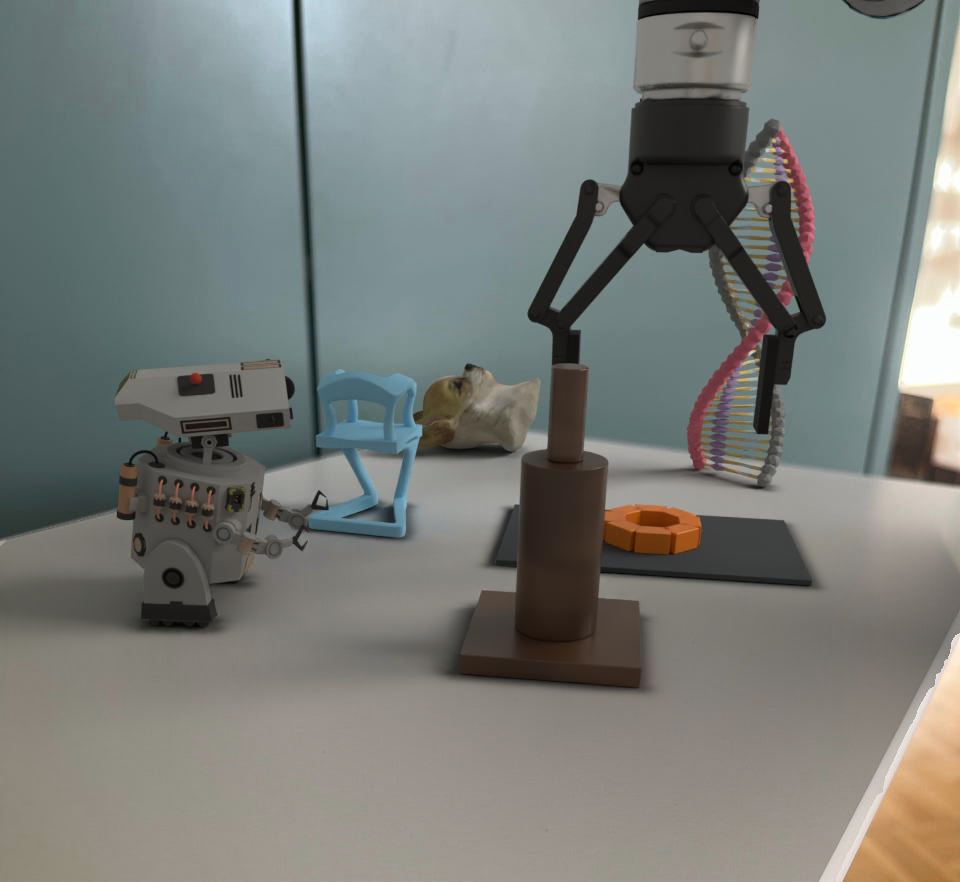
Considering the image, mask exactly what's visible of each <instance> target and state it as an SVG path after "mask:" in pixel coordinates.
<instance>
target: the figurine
mask: <svg viewBox="0 0 960 882" xmlns="http://www.w3.org/2000/svg"><path fill="white" fill-rule="evenodd" d="M295 393H296V387H295V383H294V381H293V380H292V379H291V378H290V377H288V376H287V375H285V367H284V363H283V360H282V359H271V358H266V359H262V360H252V361H241V362H240V361H238V362H227V363H214V364H198V365H187V366H185V365H184V366H171V367H159V368H157V367H156V368H146V369H145V368H143V369H132V370H130V372H129V373H128V374H127V375H126V376H125V377H124V378H123V379H122V380H121V382H120V383H119V385H118V388H117V390H116V393H115V396H114V405H115V409H116V414H117V418H118V422H125V421H126V422H127V421H128V422H129V421H139V420H143V421H144V422H146V423H149V424H151V425H153V426H154V427H157V428H159V429H160V430H162V431H164V435H162V436H157V442H156V446H154V447H153V448H151V449H150V450H148V449H142V450H138V451H135V452H134V453H133V454H131V456H130V458H129V460H128V462H123V463H121V464H120V472H119V476H118V484H119V487H118V489H119V490H118V503H117V504H118V505H117V506H118V507H117V509H116V515H115V516H116V518H117V519H119V520H122V521H132V532H131V533H132V534H131V544H130V545H131V547H130V559H131V560H132V561H134V562H135V563H136V564H137V565H139V566H140V567H141V568H143V579H142V589H143V601H142V603H141V607H140V608H141V610H140V620H142V621H148V622H149V624H151V625H153V626H157V625H159V624H160V622H161V621H162V623H163V624H164V625H165V626H167V627H168V626H172V625H173V624H174V622H183V624H184V625H186V627H192V626H194V625H195V623H197V624H198V626H199V627H201V628H205V627H207V626H208V625H209V623H213V622H214V620H215V618H217V616H218V611H217V607H216V603H215V599H214V598H212V595H211V589H210V585H211V584H212V585H213V584H218V583H227V582H232V583H234V584H236V583H239V582H240V580H241V579H244V578H245V576H246V575H247V574H248V572H249V570H250V568H251V567H252V565H253V564H254V563H253V562H254V560H255V558H256V557H255V555H265V556H266V557H267V558H268V559H270V560H276V559H279V557H281V555H282V553H283V552H284V549H286V548H290V547H292V546H295V547H296V548H297V550H299V551H301V552H303V551H304V550H305V548H306V547H307V545H308V542H309V539H307V540H306V541H305V542H304V544H303V545H301V544H300V542H299V540H300V537H301V535H302V533H303V531H306V532H307V533H308V534H310V530H308V528H307V525H308V520H307V517H309V516H310V515H311V514H313V513H314V511H321V510H329V507H330V506H329V501H328V498H327V497H328V496H326V495H325V494H324V493H323V492H322V491H321V490H320V489H318V490H317V491H316V494H315V496H314V498H313V499H312V502H311V504H310V503H309V504H307V505H306V506H305V507H303V509H301V510H300V509H297V508H292V509H291V508H288V507H287V506H285V505H283V504H282V503H281V502H279V501H278V500H276V499H274V498H271V499H267V498H265V496H264V494H263V492H264V484H265V483H264V482H265V475H266V466H265V465H263V464H261V463H260V462H258V461H257V460H255V459H254V458H252V457H250V456H248V455H244V454H243V453H241V452H240V451H238V450H236V449H233V448H231V447H229V446H230V438H232V436H233V435H232V434H238V433H249V432H259V431H272V430H283V429H284V430H285V429H291V428H292V424H291V421H292V420H294V412H293V407H292V406H291V407H290V404H289V400H291V399H292V398H293V397H294V396H295V395H294V394H295ZM168 434H171V435H172V436H174V437H176V438H177V440H178V441H177V442H174V440H173V438H171V437H170V436H168ZM182 438H187V439H188V441H182ZM173 442H174V443H173ZM140 454H144V455H142V456H141V457H140V458H138V459H136V460H137V461H136V464H134V463H133V460H134V459H135V458H136V457H137V456H139V455H140ZM320 496H322V497H323V498H325V499H326V501H325V506H323V505H320V504H317V503H318V500H319V497H320ZM261 511H262V515H263V516H264V517H265V518H266V519H267V520H269V521H275V520H276V519H277V520H278V521H279V522H282V523H286V524H288V525H289V527H290V528H291V529H292V530H295V531H297V532H296V534H295V535H293V536H292V537H288V538H284V539H280V538H278V537H277V535H275V534H268V535H266V536H265V537H264V538H262V537H259V536H258V532H259V523H260V515H261Z"/></svg>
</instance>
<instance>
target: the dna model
mask: <svg viewBox="0 0 960 882" xmlns="http://www.w3.org/2000/svg"><path fill="white" fill-rule="evenodd" d="M789 142H790V141H789V138H788V136H787V135H786V134H785V133H784V127H783V126H782V122H781V121H780V119H777V118H770V119H769V120H767V121H766V122H764V124H763V128H762V130H760V132H758V133H757V134H756V136H755V139H754V140H753V141H751V142H750V143H749V145H748V148H747V149H746V150H745V158H744V169H743V174H744V180H745V183H747V182H752V183H753V182H754V183H760V184H762V183H763V184H764V183H765V184H771V183H773V182H775V181H786V182H788V183H789V184H790V186H791V193H793V195H792V197H794V198H791V204H795V206H796V207H791V213H795V214H797V215H798V216H799V217H797V218H796V217H791V219H792V222H793V223H798V225H799V227H794V228H795V230H796V232H798V234H799V235H798V239H799V242H800V245H801V247H802V250H803V253H804V256H805V259H806V262H807V264H808V265H809V264H810V263H811V260H810V259H811V258H810V256H811V255H812V254H813V253H814V250H813V244H814V242H815V236H814V234H815V232H816V227H815V224H814V223H815V219H816V216H815V215H814V213H815V210H814V204H813V203H812V199H813V198H812V196H811V193H810V190H811V189H810V188H809V187H808V185H807V182H806V181H807V177H806V175H805V174H804V173H803V167H802V165H801V164H800V163H799V158H798V157H797V155H796V154H795V152H794V146H793V145H791V144H790V143H789ZM770 146H771V148H768V147H770ZM767 153H771V154H772V155H774V156H777V157H774V158H769V157H762V156H763V155H764V154H767ZM758 163H772V164H773V165H774V166H776V167H774V168H769V167H757V166H756V165H758ZM750 173H766V174H767V173H768V174H769V173H770V174H773V175H775V176H776V177H774V178H766V177H764V178H763V177H748V176H749V175H750ZM784 174H786V177H785V176H782V175H784ZM743 211H744V212H745V211H746V212H757V210H756V207H755V206H753V207H751V206H749V207H748V206H747V207H746V206H745V208H744V209H743V210H742V212H743ZM734 221H739V222H740V221H741V222H742V221H743V222H745V221H746V222H749V221H750V222H768V218H762V217H760V216H759V217H758V216H757V217H755V216H753V217H749V216H748V217H746V216H745V217H741V216H740V217H739V216H738V217H737V218H736V219H735V220H734ZM730 229H731V230H732V231H748V230H749V231H750V230H751V231H762V232H771V230H770V227H769V226H755V225H751V224H750V225H741V226H740V225H739V226H732V225H731V226H730ZM735 236H736V237H737V239H738V240H740V239H743V240H748V241H769V242H771V243H774V244H770V245H751V244H749V245H748V244H742V246H743V248H744V249H751V250H761V251H763V250H764V251H769V252H773V253H771V254H754V253H748V252H747V254H748V255H749V257H750V258H751V259H756V260H757V259H758V260H766V261H767V262H768V263H765V264H763V263H761V264H760V263H754V264H755V265H756V267H757V268H758V269H764V270H766V271H767V272H766V273H761V274H762V275H763V277H764V278H765V280H766V281H767V282H768V284H769V285H770V287H771V288H772V290H779V292H777V293H775V294H776V295H777V297H778V298H779V300H780V301H781V302H782V304H783V305H784V307H785V308H786V307H787V306H789V305H790V304H791V300H792V297H794V294H793V291H792V288H791V286H790V283H789V280H788V277H787V276H784V275H781V274H777V273H774V272H779V271H785V269H784V266H783V265H782V264H780V262H781V263H782V261H781V258H780V255H779V252H778V250H777V247H776V244H775V241H774V239H773V236H772V235H771V236H760V235H759V236H758V235H735ZM707 251H708V252H707V253H708V259H709V262H708V264H709V268H710V269H711V276H712V277H713V279H714V285H715V286H716V287H717V293H718V294H719V295H720V298H721V302H722V303H723V304H724V305H725V309H726V313H727V314H729V315H730V316H729V319H730V320H731V321H732V322H733V323H734V326H735V328H736V329H737V330H738V332H739V336H740V338H741V340H740V344H738V345H736V346H735V347H734V348H733V350H732V351H733V352H732V353H730V354H728V355H727V357H726V360H725V361H723V362H721V364H720V366H719V367H718V369H716V370H715V371H714V372H713V373H712V377H711V378H709V379H708V381H707V384H705V386H704V387H703V388H702V389H701V393H700V394H698V396H697V397H696V398H697V401H695V402H694V405H693V409H692V410H691V412H690V416H689V418H688V421H689V422H688V425H687V427H686V431H687V432H686V439H687V443H686V444H687V451H688V454H689V459H690V460H691V461H692V467H693V468H694V469H696V470H703V469H705V467H709V468H711V469H713V470H714V471H716V472H727V473H731V474H732V473H733V474H736V475H741V476H743V477H747V478H751V479H754V480H756V484H757V485H758V486H760V487H761V488H765V487H769V486H771V483H772V482H773V477H774V476H775V475H776V474H777V472H778V470H777V468H778V467H779V465H780V463H781V459H780V458H781V457H782V456H783V454H784V453H783V447H784V446H785V436H786V435H787V432H786V429H785V427H786V425H787V420H786V419H785V418H786V412H785V409H784V406H785V403H784V401H783V392H782V390H781V389H780V387H781V385H774V389H773V397H772V406H771V414H770V419H771V421H770V422H769V426H770V428H771V430H769V431H768V435H770V437H771V438H770V439H769V440H766V439H755V438H745V437H744V438H743V437H734V436H726V435H724V434H725V433H726V434H727V433H742V434H743V433H744V434H753V435H758V434H757V433H756V431H755V429H745V428H744V429H743V428H742V429H741V428H728V427H727V425H741V426H743V425H744V426H753V421H754V420H753V421H752V420H751V421H749V420H728V418H730V417H742V416H743V417H744V416H747V417H748V416H749V417H751V416H752V417H754V412H739V411H738V412H735V411H732V412H731V411H730V410H731V409H734V408H735V409H737V408H738V409H740V408H741V409H742V408H743V409H744V408H755V404H731V403H730V402H732V401H739V400H751V399H752V400H753V399H754V400H756V395H757V394H755V395H732V394H733V393H739V392H749V391H751V392H752V391H757V386H743V387H742V386H741V387H733V386H737V385H738V384H744V383H750V382H758V377H759V376H757V377H756V376H755V377H746V378H738V377H739V376H742V375H749V374H753V373H757V372H758V373H759V368H760V359H761V351H762V343H761V342H763V334H768V333H769V332H770V330H771V329H772V327H773V325H772V324H771V322H770V321H769V319H768V318H767V317H766V315H765V314H764V312H763V311H762V310H761V308H760V307H759V305H758V304H757V302H756V301H755V300H754V299H746V298H742V297H737V294H745V295H750V296H752V295H751V294H750V293H749V291H748V290H747V289H738V288H733V284H734V285H740V286H741V285H743V286H745V285H744V284H743V283H742V281H741V280H737V279H731V278H730V276H733V277H738V276H737V274H736V273H735V271H728V270H727V266H729V267H731V266H730V264H729V263H728V261H725V257H724V256H723V255H722V253H721V252H720V250H719V249H718V248H717V246H716V245H714V246H713V247H712V248H711V249H709V250H707ZM769 262H770V263H769ZM779 279H780V280H784V281H783V282H782V284H781V285H780V284H775V283H774V282H776V281H778V280H779ZM741 303H747V304H749V305H752V306H756V307H757V309H751V308H747V307H745V306H741ZM746 313H748V314H751V315H752V314H753V316H754V318H750V317H747V316H746ZM748 357H752V358H753V359H750V360H746V359H747V358H748ZM745 360H746V361H745ZM743 361H744V362H743ZM752 364H754V365H755V366H757V367H754V368H751V369H748V370H741V369H742V367H744V366H747V365H752ZM723 386H726V387H723ZM718 394H723V395H721V396H717V395H718ZM712 402H719V403H718V404H712ZM709 409H710V410H711V409H712V410H713V409H716V410H717V411H708V410H709ZM706 416H709V417H715V418H714V419H705V418H706ZM704 424H712V425H715V426H711V427H706V426H705V427H703V425H704ZM702 432H712V433H713V434H706V433H702ZM702 438H706V439H711V440H713V441H708V440H702ZM725 441H735V442H745V443H754V444H768V445H769V447H768V449H763V448H759V447H754V446H753V447H752V446H744V445H736V444H729V443H728V444H727V443H725ZM703 446H709V447H712V448H704V447H703ZM726 448H727V449H728V448H729V449H734V450H742V451H743V452H748V451H752V452H757V453H763V454H764V453H765V454H767V455H766V457H759V456H754V455H747V454H741V453H735V452H730V451H729V452H728V451H725V450H724V449H726ZM705 453H707V454H711V455H712V456H711V455H706V454H705ZM723 456H727V457H732V458H739V459H745V460H755V461H761V462H764V465H762V466H756V465H751V464H747V463H744V462H740V461H735V460H731V459H726V458H724V457H723ZM707 461H711V462H713V463H707ZM723 464H725V465H726V464H727V465H732V466H739V467H743V468H747V469H749V470H754V471H759V472H760V473H759V474H758V475H757V474H753V473H750V472H744V471H741V470H737V469H733V468H730V467H726V466H725V465H723Z"/></svg>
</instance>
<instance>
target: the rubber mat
mask: <svg viewBox="0 0 960 882" xmlns="http://www.w3.org/2000/svg"><path fill="white" fill-rule="evenodd" d="M608 510H609V509H605V511H608ZM695 515H696V517H699V518H700V522H701V536H700V544H699V546H697V548H696V549H692V550H688V551H684V552H681V553H677V554H672V553H670V552H669V554H668V555H663V554H647V553H635V552H634V550H632V551H626V550H624V549H621V548H619V547H616V546H614V545H611V544H608V543H606V542H605V541H603V543H602V556H601V570H600V573H614V574H615V573H616V574H628V575H629V574H631V575H646V576H660V577H661V576H662V577H674V578H675V577H678V578H692V579H704V580H705V579H706V580H721V581H736V582H737V581H738V582H752V583H764V584H765V583H766V584H767V583H768V584H783V585H797V586H798V585H799V586H812V585H813V579H812V576H811V575H810V573H809V571H808V568H807V567H806V564H805V562H804V559H803V558H802V555H801V553H800V551H799V549H798V547H797V545H796V542H795V541H794V539H793V537H792V534H791V532H790V530H789V528H788V525H787V523H786V521H785V519H774V518H773V519H771V518H756V517H754V518H753V517H737V516H722V515H721V516H719V515H703V514H695ZM518 528H519V503H515V504H514V506H513V508H512V511H511V514H510V516H509V520H508V522H507V525H506V528H505V532H504V535H503V538H502V540H501V543H500V546H499V549H498V552H497V555H496V558H495V565H496V566H507V567H517V553H518Z"/></svg>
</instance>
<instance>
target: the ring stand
mask: <svg viewBox="0 0 960 882" xmlns="http://www.w3.org/2000/svg"><path fill="white" fill-rule="evenodd" d="M589 374H590V368H589V366H588V365H585V364H580V363H579V364H571V363H562V364H555V365H552V364H551V367H550V387H549V388H550V389H549V403H548V405H549V406H548V423H547V425H548V427H547V444H546V445H547V447H546V449H536V450H532V451H528V452H526V453H525V454H523V455H522V456H521V457H520V479H519V480H520V481H519V482H520V483H519V503H518V504H519V528H518V553H517V566H516V579H515V580H516V582H515V591H504V590H488V589H482V590H481V592H480V595H479V598H478V601H477V603H476V606H475V609H474V612H473V614H472V617H471V620H470V623H469V626H468V628H467V632H466V635H465V638H464V640H463V643H462V645H461V650H460V652H459V655H458V673H459V674H462V675H472V676H473V675H474V676H487V677H499V678H500V677H501V678H514V679H526V680H536V681H537V680H539V681H552V682H564V683H565V682H566V683H575V684H577V683H578V684H589V685H591V684H592V685H602V686H616V687H628V688H629V687H630V688H641V680H642V670H643V667H642V664H643V663H642V662H643V661H642V638H641V637H642V635H641V608H640V607H641V606H640V600H636V599H634V600H633V599H620V598H605V597H604V598H603V597H599V594H600V583H601V582H600V580H601V572H600V570H601V556H602V543H603V530H604V516H605V510H606V501H607V488H608V478H609V477H608V476H609V460H608V458H607V457H605V456H603V455H602V454H599V453H596V452H593V451H592V452H591V451H588V450H585V437H586V421H587V420H586V419H587V406H588V405H587V404H588V392H589V390H588V389H589V376H590V375H589Z"/></svg>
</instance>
